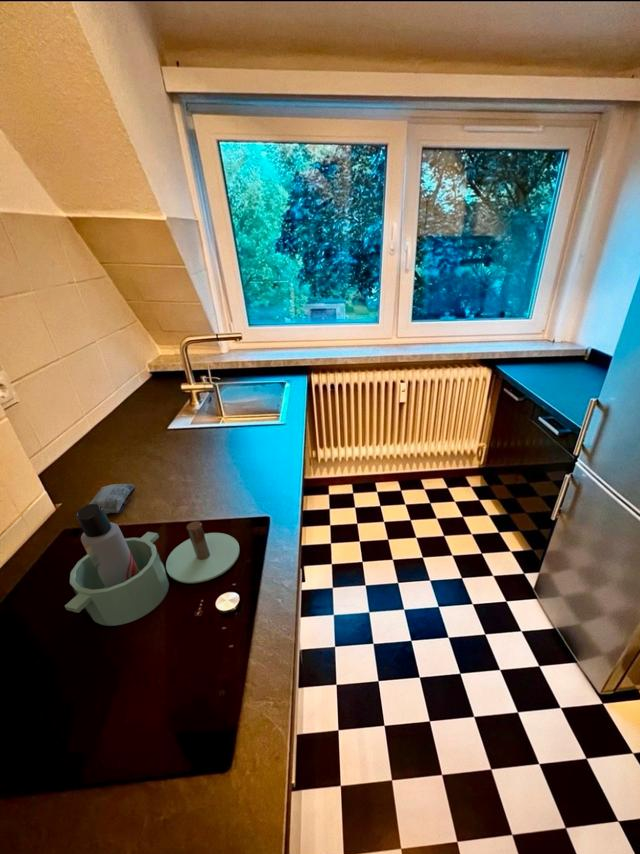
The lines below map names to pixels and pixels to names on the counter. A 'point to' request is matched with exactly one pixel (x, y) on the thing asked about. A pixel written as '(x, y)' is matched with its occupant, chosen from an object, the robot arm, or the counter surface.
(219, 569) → the lid
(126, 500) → the packaged food
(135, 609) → the pot
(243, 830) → the counter surface
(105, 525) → the lotion bottle
